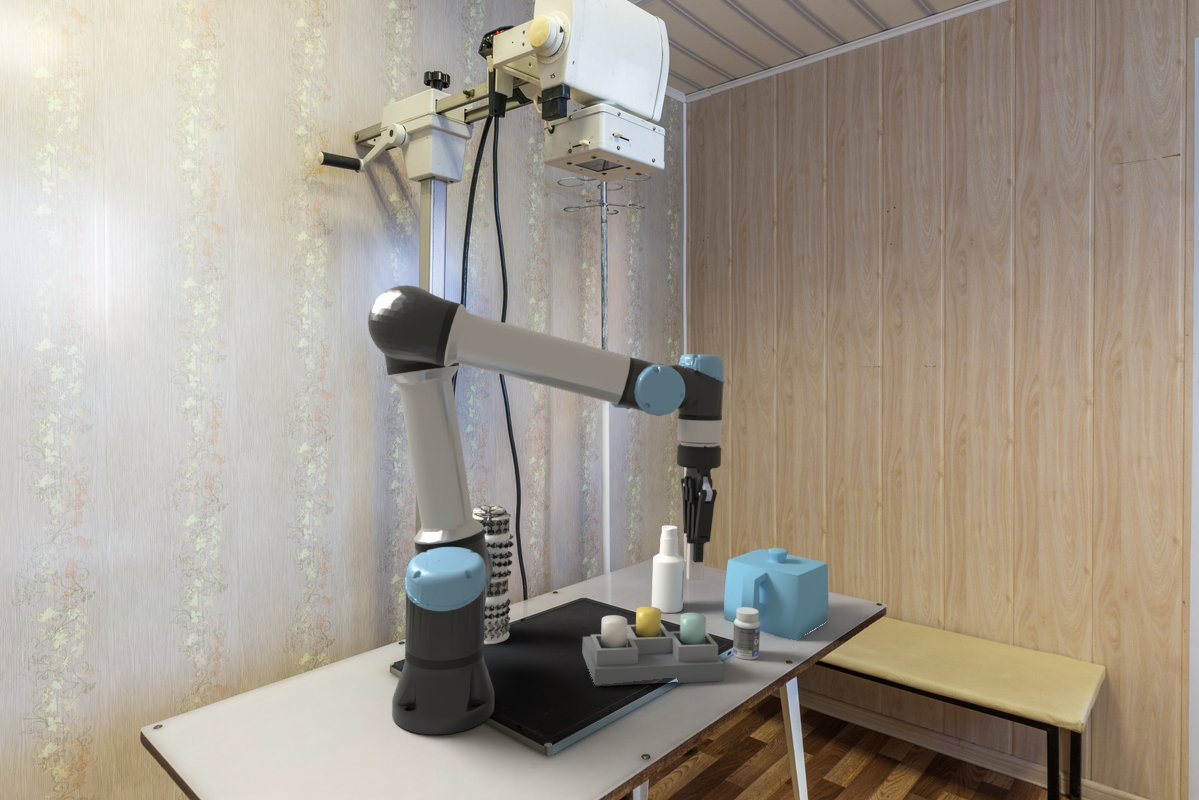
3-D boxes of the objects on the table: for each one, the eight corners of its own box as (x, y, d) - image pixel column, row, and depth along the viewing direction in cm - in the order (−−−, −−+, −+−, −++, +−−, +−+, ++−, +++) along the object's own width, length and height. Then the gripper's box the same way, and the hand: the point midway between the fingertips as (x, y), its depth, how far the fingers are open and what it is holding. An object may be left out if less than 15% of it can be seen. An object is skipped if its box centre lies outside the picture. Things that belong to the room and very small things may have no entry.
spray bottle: (687, 607, 158) (690, 526, 157) (674, 616, 152) (676, 532, 151) (660, 601, 161) (662, 522, 160) (645, 609, 156) (648, 527, 155)
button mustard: (638, 637, 125) (639, 615, 125) (633, 628, 130) (634, 606, 130) (663, 636, 126) (663, 614, 126) (656, 627, 130) (657, 606, 130)
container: (710, 624, 148) (712, 551, 147) (769, 597, 166) (772, 532, 165) (785, 648, 136) (789, 568, 136) (840, 616, 155) (844, 546, 154)
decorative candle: (521, 634, 139) (524, 507, 138) (487, 649, 132) (490, 514, 131) (487, 623, 145) (490, 500, 143) (453, 636, 137) (455, 507, 136)
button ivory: (603, 648, 120) (604, 624, 120) (599, 638, 125) (599, 615, 124) (629, 647, 121) (629, 624, 121) (623, 637, 125) (624, 614, 125)
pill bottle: (759, 661, 130) (760, 615, 129) (732, 658, 131) (734, 613, 130) (758, 651, 134) (760, 607, 134) (733, 648, 135) (734, 605, 135)
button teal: (683, 645, 123) (684, 622, 122) (676, 635, 127) (677, 613, 127) (708, 644, 123) (709, 621, 123) (700, 634, 128) (701, 612, 128)
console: (594, 687, 117) (595, 654, 117) (582, 652, 131) (583, 623, 131) (722, 680, 121) (724, 648, 121) (697, 648, 135) (698, 619, 135)
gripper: (733, 448, 118) (728, 589, 119) (708, 439, 131) (704, 567, 132) (689, 448, 116) (685, 591, 118) (668, 439, 129) (664, 568, 130)
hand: (695, 578), depth 125 cm, fingers closed
